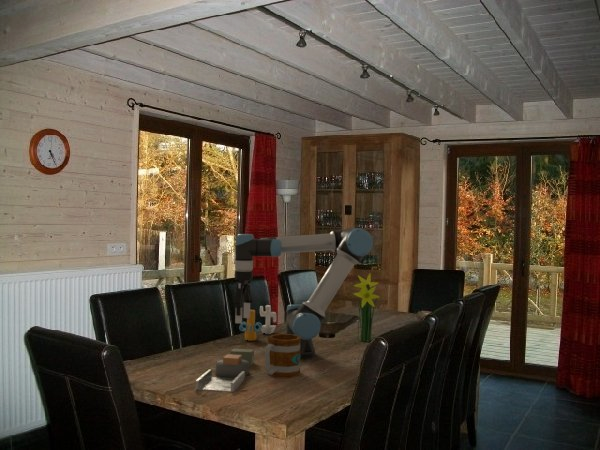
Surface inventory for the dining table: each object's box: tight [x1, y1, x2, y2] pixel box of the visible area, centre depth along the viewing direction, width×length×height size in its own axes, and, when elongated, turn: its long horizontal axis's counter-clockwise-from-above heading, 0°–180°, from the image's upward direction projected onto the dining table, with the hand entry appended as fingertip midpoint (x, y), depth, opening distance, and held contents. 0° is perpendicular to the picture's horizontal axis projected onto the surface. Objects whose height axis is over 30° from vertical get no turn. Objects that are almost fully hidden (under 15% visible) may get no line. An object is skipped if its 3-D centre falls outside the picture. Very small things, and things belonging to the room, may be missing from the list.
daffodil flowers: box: [352, 272, 381, 344], centre depth 292 cm, size 17×15×35 cm
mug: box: [264, 333, 301, 379], centre depth 226 cm, size 20×14×15 cm
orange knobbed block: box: [239, 309, 263, 342], centre depth 293 cm, size 12×10×15 cm
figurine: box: [259, 304, 277, 335], centre depth 311 cm, size 7×9×15 cm
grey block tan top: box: [215, 353, 250, 378], centre depth 228 cm, size 13×13×7 cm
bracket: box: [194, 368, 246, 393], centre depth 212 cm, size 14×16×4 cm
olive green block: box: [230, 348, 255, 367], centre depth 243 cm, size 9×5×6 cm, turn 83°
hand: (242, 320), depth 243 cm, fingers open, 13 cm apart
